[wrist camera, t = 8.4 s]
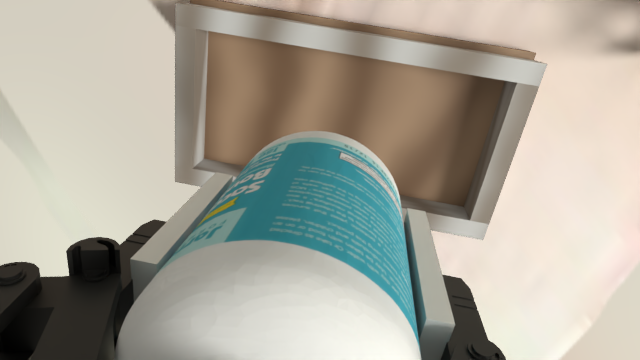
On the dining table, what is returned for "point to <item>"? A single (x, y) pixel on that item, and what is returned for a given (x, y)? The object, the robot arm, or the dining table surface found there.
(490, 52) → the grey rimmed shallow tray
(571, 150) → the dining table surface
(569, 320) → the dining table surface
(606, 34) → the dining table surface
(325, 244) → the pill bottle
